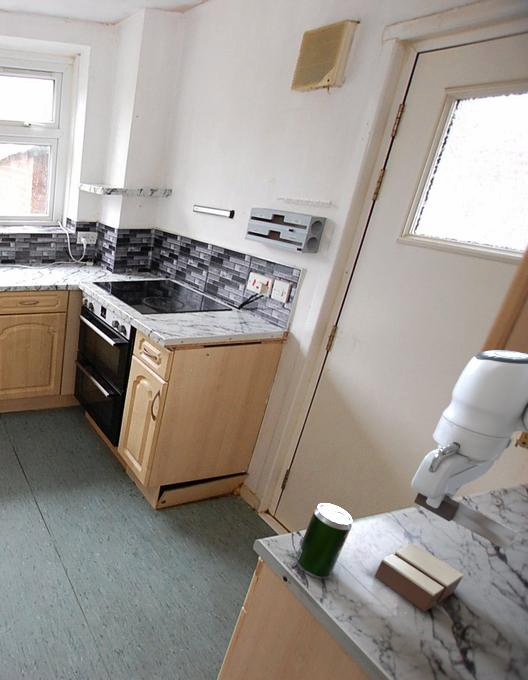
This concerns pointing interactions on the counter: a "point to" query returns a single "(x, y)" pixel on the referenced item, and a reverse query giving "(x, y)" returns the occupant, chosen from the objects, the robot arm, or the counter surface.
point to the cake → (431, 568)
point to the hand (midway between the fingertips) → (437, 502)
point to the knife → (471, 520)
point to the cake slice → (409, 582)
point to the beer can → (323, 540)
